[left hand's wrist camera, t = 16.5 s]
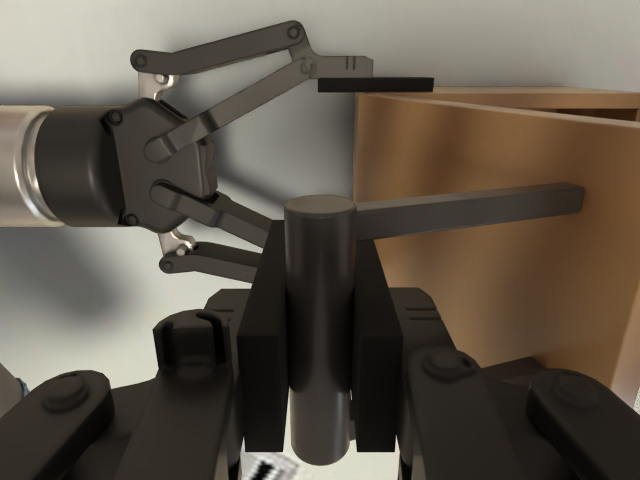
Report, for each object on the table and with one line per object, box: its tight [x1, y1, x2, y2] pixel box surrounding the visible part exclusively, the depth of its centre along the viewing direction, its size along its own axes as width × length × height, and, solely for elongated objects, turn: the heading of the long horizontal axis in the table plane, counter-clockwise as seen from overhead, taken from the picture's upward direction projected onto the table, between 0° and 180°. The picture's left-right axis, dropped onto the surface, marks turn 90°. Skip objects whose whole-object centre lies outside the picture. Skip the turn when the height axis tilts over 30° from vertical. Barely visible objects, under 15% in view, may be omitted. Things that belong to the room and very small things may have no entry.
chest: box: [352, 87, 640, 203], centre depth 30 cm, size 15×9×9 cm, turn 90°
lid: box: [284, 94, 640, 466], centre depth 17 cm, size 16×9×9 cm
